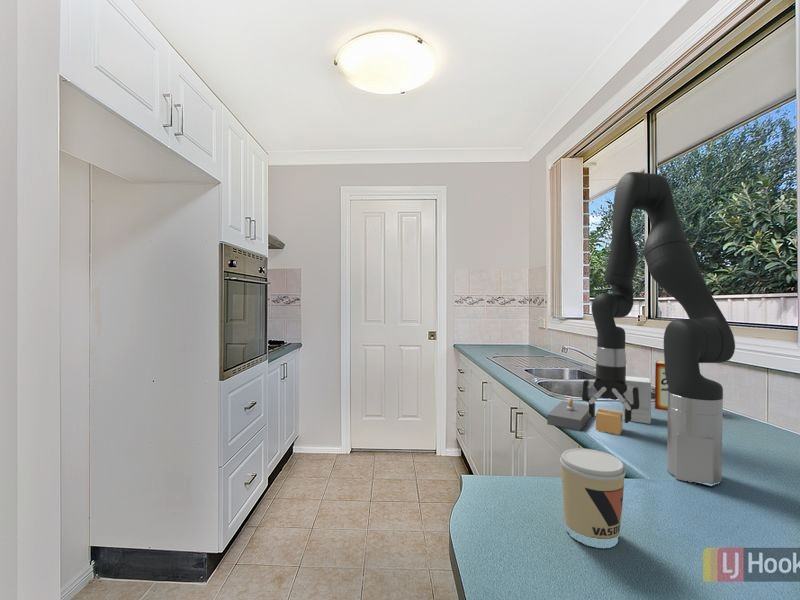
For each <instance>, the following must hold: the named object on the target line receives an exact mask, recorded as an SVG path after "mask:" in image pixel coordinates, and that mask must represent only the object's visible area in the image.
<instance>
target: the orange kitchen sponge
mask: <svg viewBox="0 0 800 600" xmlns="http://www.w3.org/2000/svg"><path fill="white" fill-rule="evenodd" d="M623 421H624V420H623V410H622V411H621V410H613V409H607V408H600V407H599V408H598V409H597V410H596V411H595V431H596V430H598V431H597V432H601V431H603V432H602V433H606V432H608V433H607V434H612V433H613V434H612V435H618V436H620V435H621V434H622V431H623V427H624V426H623V423H624V422H623Z"/></svg>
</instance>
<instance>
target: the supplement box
mask: <svg viewBox="0 0 800 600" xmlns="http://www.w3.org/2000/svg"><path fill="white" fill-rule="evenodd" d="M626 385H627V386H632V387H634V386H638V388H639V405H640V406H639V408H638V409H633V410H632V411H631V421H630V422H634V423H635V422H636V423H642V424H649V425H651V424H652V382H651V378H650V377H640V376H629V375H626ZM624 395H625V397H626V398H627V400H628V401H629V402H630V404H633V395H632V394H630V391H629V390H627V391H626V392H625V393H624ZM622 409H623V410H622V412H623V421H625V409H626V408H625V406H624V405H623V404H622Z"/></svg>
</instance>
